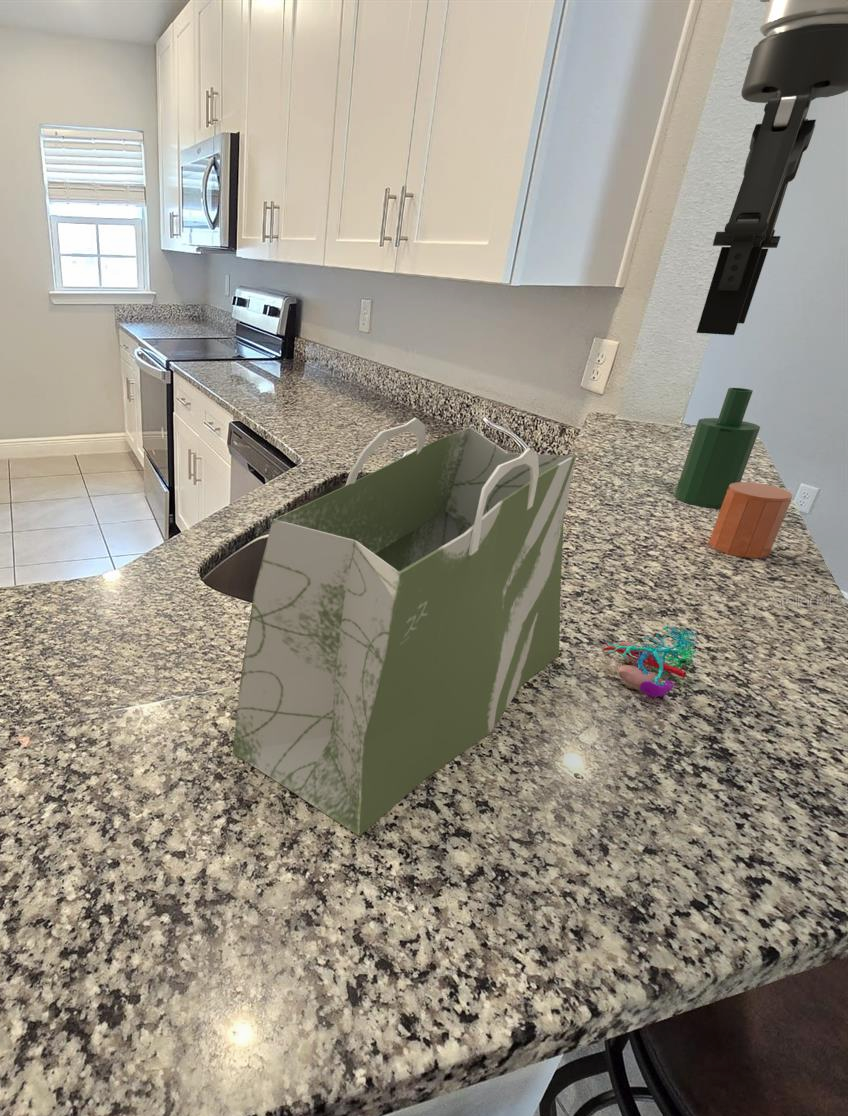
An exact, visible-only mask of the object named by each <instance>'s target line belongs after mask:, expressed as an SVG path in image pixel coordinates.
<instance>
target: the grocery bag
mask: <svg viewBox="0 0 848 1116" xmlns="http://www.w3.org/2000/svg"><path fill="white" fill-rule="evenodd" d="M409 432H411V433H413V434H414V435H416V437H415V438H416V447H415V450H414V451H412V452H410V453H408V454H407V455H405V456H402V457H401V458H399V459H396V460H395V461H393V462H391V463H389V464H387V465H385V466H383V467H381V468H379V469H377V470H374V471H372V472H371V473H369V474H367V475H365V476H363V477H360V478H358V476H359V473H360V471H361V469H362V468H363V466H364V465H365V463H366V462H367V460H368V458H369V457H370V456H371V455H372V454H373V453H374V452H375V451H376V450H377V449H378V448H380V446H381V445H382V444H384V443H385V442H387V441H388V440H390V439H392V438H393V437H395V436H397V435H399V434H404V433H409ZM426 433H427V432H426V424H425V423H424V422H423V421H421V420H420V419H419V418H417V417H413V418H412V419H410V420H409V421H407V422H406V423H404V424H402V425H398V426H395V427H392V428H387V429H385V430H381V431H379V433H378V434H377V435H376V436H375V437H374V438H373V439H372V440H371V441H370V442H369V443H368V444H367V445H366V446H365V447H364V448H363V449H362V450H361V453H359V456H358V458H357V459H356V461H355V462H354V464H353V466H352V468H351V470H350V471H349V473H348V476H347V479H346V482H345V485H343V486H342V487H340V488H338V489H336V490H333V491H331V492H329V493H327V494H325V495H323V496H320V497H318V498H316V499H314V500H312V501H310V502H308V503H305V504H303V505H301V506H299V507H297V508H295V509H292V510H290V511H288V512H286V513H284V514H282V515H280V516H278V517H276V518H274V519H272V522H271V525H270V528H269V531H268V537H267V539H266V544H265V548H264V552H263V555H262V559H261V562H260V567H259V571H258V574H257V579H256V582H255V586H254V589H253V596H252V603H251V608H250V614H249V620H248V621H249V622H248V628H247V629H248V630H247V633H246V634H247V635H246V641H245V647H244V653H243V661H242V667H241V674H240V680H239V688H238V689H239V690H238V698H237V707H236V715H235V716H236V718H235V727H234V737H233V743H232V744H233V746H232V754H234V755H236V757H239V758H240V759H241V760H243V761H245V762H246V763H247V764H249V765H251V766H252V767H253V768H255V769H256V770H258V771H260V772H261V773H263V774H264V775H266V776H267V777H268V778H270V779H272V780H273V781H275V782H276V783H277V784H279V785H281V786H282V787H284V788H286V789H287V790H289V791H290V792H292V793H293V794H295V795H296V796H298V797H299V798H300V799H302V800H304V801H305V802H307V803H308V804H309V805H311V806H312V807H314V808H315V809H317V810H319V811H320V812H322V813H323V814H325V815H327V816H328V817H329V818H331V819H332V820H334V821H335V822H336V823H339V824H340V825H342V826H343V827H345V828H346V829H348V830H349V831H351V832H352V833H354V834H355V835H357V836H358V837H360V836H362V835H363V834H364V833H365V832H366V831H367V830H368V829H369V828H371V827H372V826H373V825H374V824H376V822H378V821H379V820H380V819H381V818H382V817H383V816H385V815H386V814H387V813H388V812H389V811H390V810H391V809H393V808H394V807H395V806H396V805H397V804H398V803H400V802H401V801H402V800H403V799H404V798H405V797H406V796H408V794H410V793H411V792H412V791H413V790H415V789H416V788H417V787H418V786H419V785H420V784H421V783H423V782H424V781H425V780H426V779H428V777H430V776H431V775H433V774H434V773H435V772H437V771H438V770H439V769H442V768H443V766H445V765H447V764H449V763H450V762H451V761H453V760H455V758H457V757H459V756H460V755H462V754H463V753H464V752H465V751H467V750H468V749H470V748H472V747H473V746H475V745H476V744H477V743H479V742H480V741H481V740H483V739H485V738H486V737H487V736H489V735H490V734H491V733H492V731H493V730H494V728H495V727H496V725H497V724H498V722H499V721H500V719H501V718H502V716H503V714H504V713H505V712H506V710H507V708H509V707H508V706H509V705H511V702H512V700H513V699H514V697H515V696H516V694H517V693H518V692H519V690H520V689H521V687H522V686H523V685H524V684H525V683H526V682H528V681H529V680H531V679H532V678H533V677H534V676H535V675H537V674H538V673H539V672H541V671H542V670H544V669H545V668H546V667H547V666H548V665H550V664H551V663H552V662H553V661H555V660H556V659H557V658H559V657H560V642H561V641H560V638H561V637H560V636H561V635H560V633H561V631H560V629H561V628H560V627H561V590H562V589H561V588H562V587H561V585H562V568H563V567H562V564H563V547H564V546H563V544H564V543H563V542H564V526H565V525H564V524H565V523H564V522H565V516H566V511H567V507H568V500H569V497H570V496H569V495H570V490H571V486H572V480H573V474H574V470H575V464H576V459H577V455H570V454H569V455H566V454H565V455H564V454H545V453H543V454H541V453H536V452H535V451H534V450H532V449H531V448H529V447H527V448H526V449H525V450H524V451H523V452H522V453H518V452H508V451H506V450H505V449H503V448H502V447H501V446H499V444H497V443H495V442H493V441H491V440H490V439H489V438H487V437H486V436H484V435H483V434H481V433H480V432H478V431H477V430H476V429H474V428H473V427H472V426H471V427H470V426H469V427H467V428H464V429H462V430H459V431H456V432H454V433H451V434H448V435H446V436H443V437H441V438H438V439H435V440H433V441H432V442H429V443H428V444H426V440H427V438H426V437H427V436H426V435H427V434H426ZM425 444H426V445H425ZM357 478H358V479H357Z"/></svg>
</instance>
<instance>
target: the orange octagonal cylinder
mask: <svg viewBox="0 0 848 1116" xmlns="http://www.w3.org/2000/svg"><path fill="white" fill-rule="evenodd" d="M792 498H793V493H792V492H791V491H788V490H787V489H784V488H781V487H778V486H774V485H770V484H764V483H758V482H750V481H749V482H748V481H741V482H736V483H731V484H730V485H729V487H728V490H727V492H726V495H725V498H724V501H723V504H722V506H721V508H719V512H718V515H717V518H716V520H715V524H714V526H713V530H712V532H711V534H710V537H709V541H708V543H707V544H708V545H709V546H710V547H712V548H713V549H714V550H716V551H720V552H722V553H724V554H726V555H731V556H736V557H740V558H745V559H762V558H763V559H764V558H767V557H769V556H770V554H771V551H772V549H773V546H774V543H775V541H776V539H777V536H778V534H779V531H780V529H781V527H782V524H783V522H784V519H785V517H786V515H787V512H788V509H789V507H790V505H791V502H792Z"/></svg>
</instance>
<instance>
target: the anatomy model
mask: <svg viewBox="0 0 848 1116" xmlns="http://www.w3.org/2000/svg"><path fill="white" fill-rule="evenodd" d="M669 629H670V630H671V631H672V632H671V631H669ZM662 630H663V631H665V633H664V636H663V637H660V636H659V633H656V634H655V636H656V637H657V638H658V640H660V642H659V641H657V640H656V639H655V638H653V637H652V638H648V637H645V636H644V637H642V639H643V640H649V641H652V642H654V643H649V642H647V643H644V642H642V644H643V645H642V646H640V645H639V644H636V643H633V642H630V641H618V642H617V643H616V644H615V643H610V642H608V641H605V642H604V645H605V646H607V647H603V648H602V652H605V651H607V652H606V653H607V654H609V653H613V652H617V653H618V654H620V655H621V656H622V658H623V659H624V660H628V661H629V662H631V663H632V664H635V665H636V666H634V665H627V664H626V665H625V664H624V665H620V666H619V668H617V672H618V675H619V677H620V678H621V679H623V681H625V682H626V683H627V684H629V685H631V686H632V687H634V688H636V689H638V690H640V691H641V692H642V693H643V694H645V696H647V697H649V698H658V697H663V696H665V695H666V694H668V693H669V692H670V691H671V690H672V689H673V688H674V687H675V686H676V683H674V682H672V680H669V681H668V680H667V679H665V680H664V681H663V679H662V677H661V676H662V674H664V675H666V674H667V672H668V673H670V674H674V675H676V676H678V677H680V678H682V679H685V678H686V674H687V672H686V671H685V670H682V668H683V667H682V665H684V664H687V665H689V664H692V663H693V658H696V656H695V654H696V652H697V650H696V649H693V650H692V648H694V647H695V646H696V641H699V639H697V638H695V639H693V638H690V637H698V635H696V634H695V633H694V632H692V630H689V631H688V630H687V631H686V628H681V627H679V628H678V629H677V628H676V627H674V626H673V627H671V626H668V625H667V626H663V628H662ZM666 633H668V634H669V635H670V637H671V639H672V640H675V643H674V642H672V646H669V647H668V646H667V645H665V641H664V639H666V637H667V636H668V635H667V634H666ZM655 643H656V644H655ZM680 657H681V658H680ZM669 661H672V662H669ZM651 669H652V670H658V671H657V673H656V672H653V671H648V670H651ZM662 681H663V682H662Z"/></svg>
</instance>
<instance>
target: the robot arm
mask: <svg viewBox="0 0 848 1116" xmlns="http://www.w3.org/2000/svg"><path fill="white" fill-rule="evenodd" d="M759 2H760V3H767V4H766V7H765V10H764V14H763V17H762V21H761V25H760V27H759V32H760V34H762V35H763V37H764V38H762V39H761V40H760V41H759V42H758V43H757V45H755V46H754V47H753V49H752V53H751V56H750V59H749V64H748V67H747V70H746V74H745V78H744V82H743V85H742V87H741V97H742V99H743V100H745V101H747V102H750V103H758V104H759V103H760V104H765V105H764V109H763V112H764V115H763V116H762V121H761V123H755V126H754V128H753V131H752V133H751V139H750V142H749V152H748V155H747V158H746V160H745V164H744V168H743V179H742V181H741V184H740V187H739V190H738V193H737V195H736V199H735V201H734V205H733V207H732V210H731V213H730V216H729V220H728V222H727V223H726V224H725V226H724V229H723V231H716V232H715V235H714V239H713V242H712V246H713V247H721V248H720V252H719V255H718V258H717V262H716V265H715V268H714V272H713V275H712V279H711V283H710V286H709V288H708V292H707V296H706V298H705V302H704V305H703V308H702V313H701V316H700V319H699V322H698V326H697V329H696V332H695V334H707V335H725V336H734V335H735V333H736V330H737V328H738V325H739V324H745V322H746V319H747V315H748V312H749V310H750V307H751V304H752V300H753V298H754V295H755V291H756V287H757V285H758V282H759V279H760V276H761V273H762V270H763V267H764V265H765V261H766V258H767V255H768V252H769V249H777V248H778V246H779V243H780V239H781V237H782V236H781V235H775V234H776V233H775V232H776V229H775V226H776V223H777V221H778V217H779V215H780V211H781V208H782V205H783V201H784V198H785V196H786V192H787V188H788V185H789V183H790V182H793V180H795V178H796V176H797V173H798V170H799V168H800V164H801V162H802V157H803V155H804V153H805V152H806V151H807V150H808V148H809V146H810V142H811V140H812V137H813V135H814V134H813V133H814V130H815V127H816V122H817V119H808V118H807V116H808V113H809V109H810V106H811V102H812V101H813V100H816V99H819V98H831V97H834V96H838V95H841V94H844V93H846V92H848V0H759Z"/></svg>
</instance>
